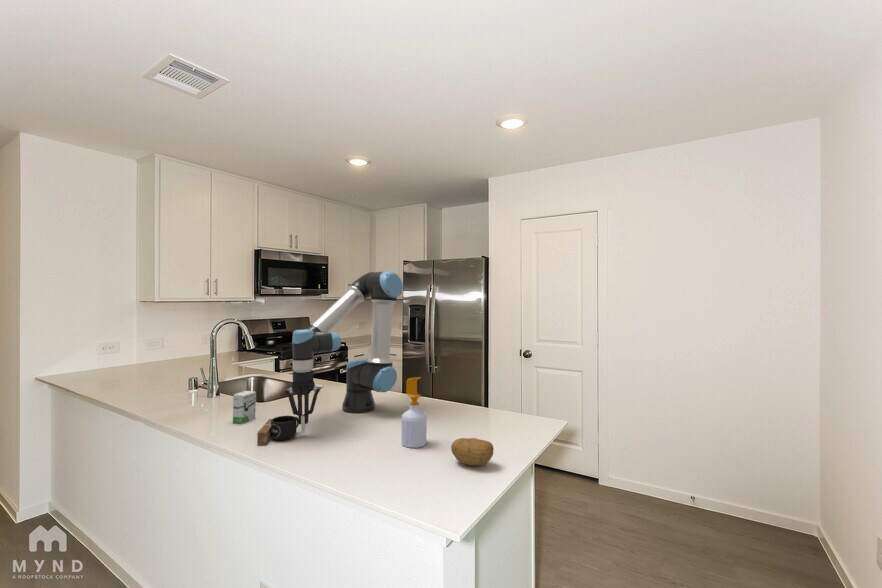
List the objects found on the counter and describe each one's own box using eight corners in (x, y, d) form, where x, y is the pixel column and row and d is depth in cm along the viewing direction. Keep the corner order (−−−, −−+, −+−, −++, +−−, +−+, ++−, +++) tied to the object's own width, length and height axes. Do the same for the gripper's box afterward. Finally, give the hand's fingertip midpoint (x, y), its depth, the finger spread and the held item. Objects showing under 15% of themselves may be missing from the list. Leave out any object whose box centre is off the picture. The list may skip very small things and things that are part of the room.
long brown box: (277, 430, 161) (277, 418, 161) (266, 445, 146) (266, 431, 146) (269, 430, 161) (269, 418, 161) (257, 445, 145) (257, 432, 145)
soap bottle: (407, 450, 143) (408, 380, 143) (397, 441, 151) (398, 375, 151) (430, 446, 147) (431, 377, 147) (419, 437, 155) (420, 373, 155)
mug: (283, 443, 147) (283, 424, 147) (265, 439, 151) (265, 420, 151) (307, 433, 158) (307, 415, 158) (289, 430, 162) (289, 412, 162)
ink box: (242, 424, 168) (242, 395, 168) (232, 423, 169) (232, 394, 169) (256, 418, 177) (256, 390, 177) (246, 417, 178) (246, 390, 178)
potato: (456, 455, 139) (456, 431, 139) (496, 462, 134) (497, 437, 134) (446, 466, 130) (446, 441, 130) (489, 474, 124) (489, 448, 124)
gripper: (321, 368, 160) (321, 428, 160) (287, 369, 158) (288, 430, 158) (319, 371, 152) (319, 434, 152) (283, 372, 150) (283, 436, 150)
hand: (303, 432), depth 155 cm, fingers closed
